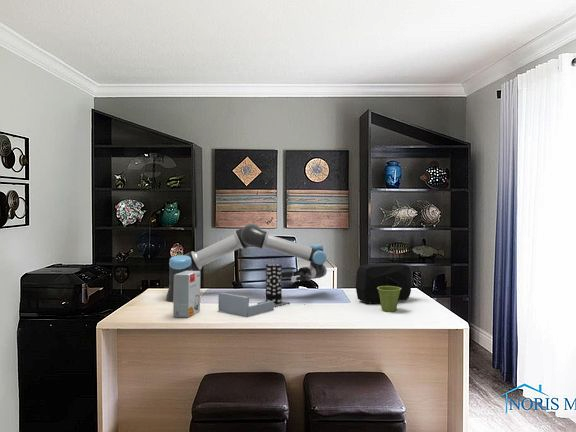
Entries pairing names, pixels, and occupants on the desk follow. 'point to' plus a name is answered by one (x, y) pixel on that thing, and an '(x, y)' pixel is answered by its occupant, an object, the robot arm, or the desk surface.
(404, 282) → the black hard case
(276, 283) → the spotted tube
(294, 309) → the desk surface
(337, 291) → the desk surface
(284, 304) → the mat
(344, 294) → the desk surface
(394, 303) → the plant pot
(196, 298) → the hard drive box
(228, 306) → the bay
